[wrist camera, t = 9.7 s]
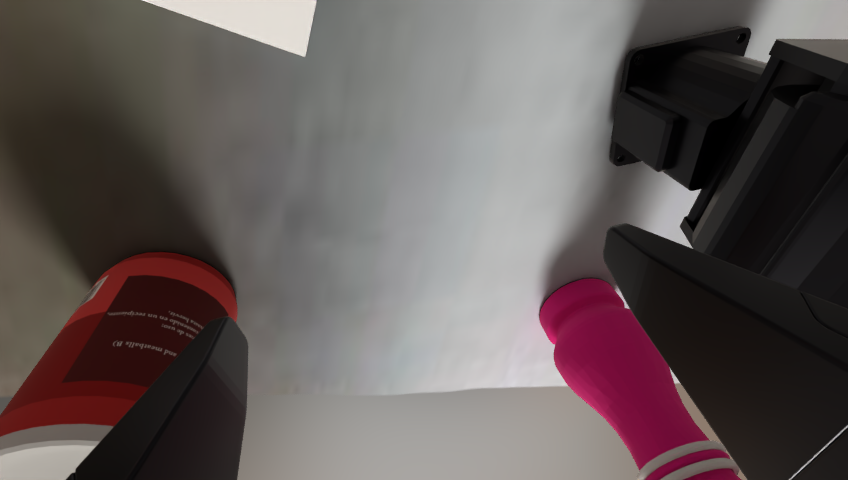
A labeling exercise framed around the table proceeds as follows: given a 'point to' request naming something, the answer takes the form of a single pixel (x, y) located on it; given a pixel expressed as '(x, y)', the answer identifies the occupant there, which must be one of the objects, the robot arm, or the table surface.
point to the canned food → (107, 360)
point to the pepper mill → (628, 383)
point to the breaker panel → (254, 19)
